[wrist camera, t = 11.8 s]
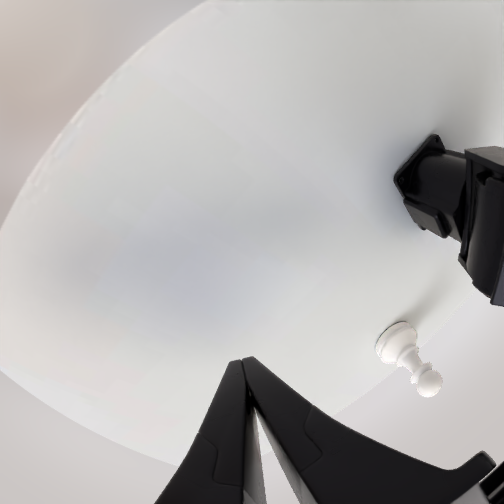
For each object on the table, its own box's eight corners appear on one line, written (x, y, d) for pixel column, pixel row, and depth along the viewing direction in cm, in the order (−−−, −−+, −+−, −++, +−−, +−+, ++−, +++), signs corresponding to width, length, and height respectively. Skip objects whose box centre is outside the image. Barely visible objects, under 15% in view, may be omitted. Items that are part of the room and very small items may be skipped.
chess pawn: (416, 319, 29) (462, 369, 21) (398, 352, 30) (437, 403, 22) (386, 321, 27) (434, 379, 19) (368, 357, 29) (407, 414, 21)
